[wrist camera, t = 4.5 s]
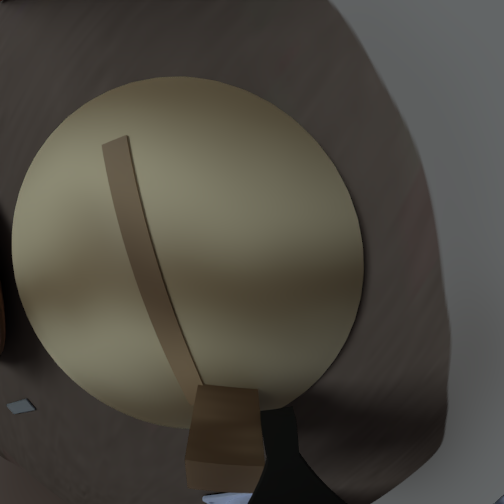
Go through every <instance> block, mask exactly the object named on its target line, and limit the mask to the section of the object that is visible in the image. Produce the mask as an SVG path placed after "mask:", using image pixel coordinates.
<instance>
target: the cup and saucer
mask: <svg viewBox="0 0 504 504" xmlns="http://www.w3.org/2000/svg"><path fill="white" fill-rule="evenodd" d="M4 344H5V308H4V300H3V293H2V287H1V282H0V355H1V353H2V351H3V348H4Z"/></svg>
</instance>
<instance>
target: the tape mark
mask: <svg viewBox="0 0 504 504" xmlns="http://www.w3.org/2000/svg"><path fill="white" fill-rule="evenodd" d="M7 407H8V408H9V409H10V410H11V411H12V413H13V414H17V413H22V412H27V411H32V410H35V409H36V408H35V407H34V406H33V405H32V404H31V403H30V402H29V400H28V399H23V400H20V401H16V402H13V403H9V404H7Z"/></svg>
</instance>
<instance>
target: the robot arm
mask: <svg viewBox="0 0 504 504" xmlns="http://www.w3.org/2000/svg"><path fill="white" fill-rule="evenodd" d="M260 419H261V429H262V434H263V439H264V445H265V450H266V455H267V460H266V463H265V466H264V469H263V471H262V474H261V477H260V479H259V481H258V484H257V486H256V488H255V490H254V492H253V493H223V494H215V495H207V496H203V501H204V502H206V503H208V504H347V503H346V502H344V501H343V500H342V499H341V498H340V497H338V496H337V495H336V494H335V493H334V492H333V491H332V490H331V489H330V488H329V487H328V486H327V485H326V484H325V483H324V482H323V481H322V480H321V479H320V478H319V477H318V476H317V475H316V474H315V472H314V471H313V470H312V469H311V468H310V466H309V465H308V464H307V462H306V461H305V460H304V458H303V457H302V456H301V454H300V453H299V446H298V434H297V424H296V418H295V414H294V411H293V407H285V408H278V409H271V410H263V411H260ZM494 504H504V495H503V496H502V497H501V498H499V499H498V500H497V501H496V502H495V503H494Z"/></svg>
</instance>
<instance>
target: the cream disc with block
mask: <svg viewBox="0 0 504 504" xmlns="http://www.w3.org/2000/svg"><path fill="white" fill-rule="evenodd" d="M12 260H13V268H14V275H15V280H16V284H17V288H18V292H19V296H20V299H21V302H22V304H23V307H24V310H25V312H26V315H27V317H28V319H29V321H30V323H31V325H32V327H33V329H34V331H35V333H36V335H37V337H38V338H39V340H40V341H41V343H42V344H43V346H44V348H45V349H46V351H47V352H48V353H49V354H50V356H51V357H52V358H53V359H54V361H55V362H56V363H57V364H58V366H59V367H60V368H61V369H62V370H63V371H64V372H65V373H66V374H67V375H68V376H69V377H70V378H71V379H72V380H73V381H74V382H76V383H77V384H78V385H79V386H80V387H82V388H83V389H84V390H85V391H87V392H88V393H89V394H91V395H92V396H94V397H95V398H97V399H98V400H100V401H101V402H103V403H105V404H106V405H108V406H110V407H112V408H114V409H116V410H118V411H120V412H122V413H124V414H127V415H129V416H132V417H134V418H137V419H139V420H143V421H146V422H149V423H153V424H157V425H162V426H167V427H173V428H183V429H190V432H189V437H188V443H187V449H186V455H185V467H186V477H187V486H188V488H190V489H198V490H206V491H216V492H229V493H253V492H254V490H255V488H256V486H257V484H258V481H259V479H260V477H261V474H262V471H263V469H264V466H265V462H264V451H263V440H262V429H261V419H260V411H263V410H271V409H278V408H282V407H283V406H285V405H287V404H289V403H290V402H292V401H293V400H294V399H296V398H297V397H299V396H300V395H301V394H303V393H304V392H305V391H306V390H308V389H309V388H310V387H311V386H312V385H313V384H314V383H315V382H316V381H317V380H318V379H319V378H320V377H321V376H322V375H323V374H324V372H325V371H326V370H327V369H328V367H329V366H330V365H331V364H332V363H333V361H334V360H335V358H336V357H337V355H338V353H339V352H340V350H341V348H342V347H343V345H344V343H345V342H346V340H347V337H348V335H349V333H350V330H351V328H352V326H353V323H354V321H355V317H356V314H357V310H358V306H359V302H360V299H361V292H362V284H363V275H364V261H363V243H362V238H361V232H360V227H359V222H358V218H357V215H356V212H355V209H354V206H353V203H352V200H351V197H350V195H349V192H348V190H347V188H346V186H345V184H344V182H343V180H342V178H341V176H340V175H339V173H338V171H337V169H336V167H335V165H334V164H333V163H332V161H331V160H330V159H329V157H328V156H327V155H326V153H325V152H324V150H323V149H322V148H321V147H320V145H319V144H318V143H317V141H316V140H315V139H314V138H313V137H312V136H311V135H310V134H309V133H308V132H307V131H306V130H305V129H304V128H303V127H301V126H300V125H299V124H298V123H297V122H296V121H295V120H294V119H293V118H291V117H290V116H288V115H287V114H286V113H284V112H283V111H281V110H280V109H279V108H277V107H276V106H274V105H273V104H271V103H270V102H268V101H266V100H264V99H262V98H260V97H258V96H256V95H254V94H252V93H250V92H248V91H246V90H244V89H241V88H238V87H235V86H231V85H228V84H225V83H221V82H218V81H214V80H208V79H201V78H193V77H158V78H152V79H147V80H142V81H137V82H132V83H129V84H126V85H123V86H121V87H118V88H115V89H112V90H110V91H107V92H105V93H104V94H102V95H100V96H98V97H96V98H94V99H93V100H91V101H89V102H87V103H86V104H84V105H83V106H82V107H80V108H79V109H78V110H76V111H75V112H74V113H72V114H71V115H70V116H69V117H67V118H66V119H65V120H64V121H63V122H62V123H61V124H60V125H59V126H58V127H57V128H56V130H55V131H54V132H53V133H52V134H51V135H50V136H49V138H48V139H47V140H46V142H45V143H44V144H43V146H42V147H41V149H40V150H39V151H38V153H37V154H36V156H35V158H34V160H33V162H32V164H31V166H30V167H29V169H28V171H27V173H26V176H25V178H24V181H23V184H22V187H21V189H20V192H19V195H18V199H17V204H16V208H15V213H14V219H13V229H12Z"/></svg>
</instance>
